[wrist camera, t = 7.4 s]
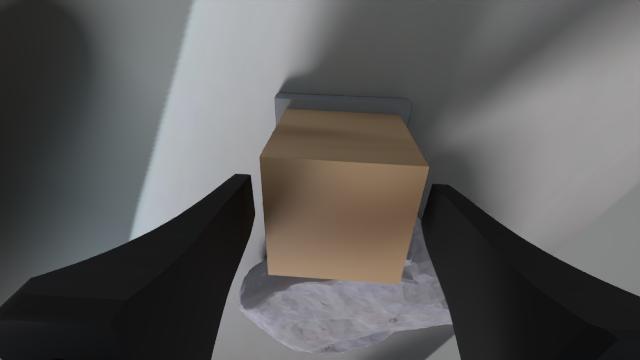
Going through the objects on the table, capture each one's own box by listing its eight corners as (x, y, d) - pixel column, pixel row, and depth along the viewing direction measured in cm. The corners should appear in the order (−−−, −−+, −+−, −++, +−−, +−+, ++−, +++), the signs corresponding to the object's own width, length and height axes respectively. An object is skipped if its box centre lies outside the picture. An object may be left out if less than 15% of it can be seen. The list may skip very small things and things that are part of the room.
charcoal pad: (387, 202, 17) (389, 211, 16) (282, 197, 17) (280, 206, 16) (408, 98, 13) (412, 104, 13) (277, 92, 13) (274, 98, 13)
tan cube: (382, 207, 15) (399, 284, 11) (288, 201, 15) (268, 274, 11) (399, 114, 13) (429, 166, 8) (286, 108, 13) (259, 156, 9)
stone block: (456, 255, 21) (403, 183, 14) (486, 328, 18) (436, 279, 11) (319, 298, 25) (232, 258, 19) (323, 362, 22) (220, 341, 16)
